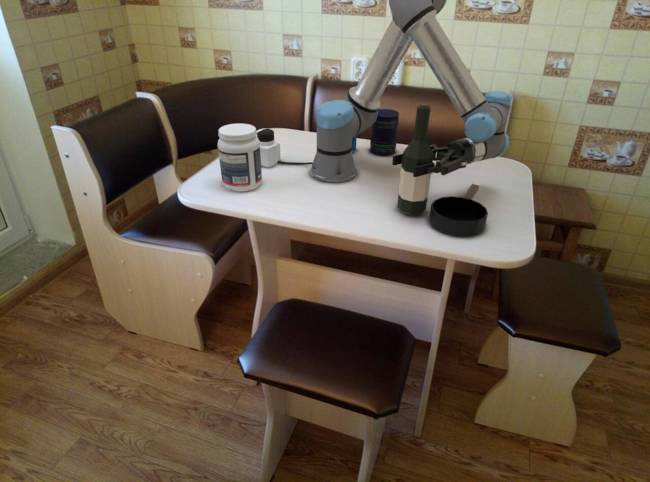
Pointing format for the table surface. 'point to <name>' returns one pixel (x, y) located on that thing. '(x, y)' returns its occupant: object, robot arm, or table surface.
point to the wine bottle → (415, 154)
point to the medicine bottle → (268, 148)
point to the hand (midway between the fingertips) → (403, 166)
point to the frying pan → (459, 214)
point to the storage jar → (384, 133)
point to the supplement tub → (239, 157)
